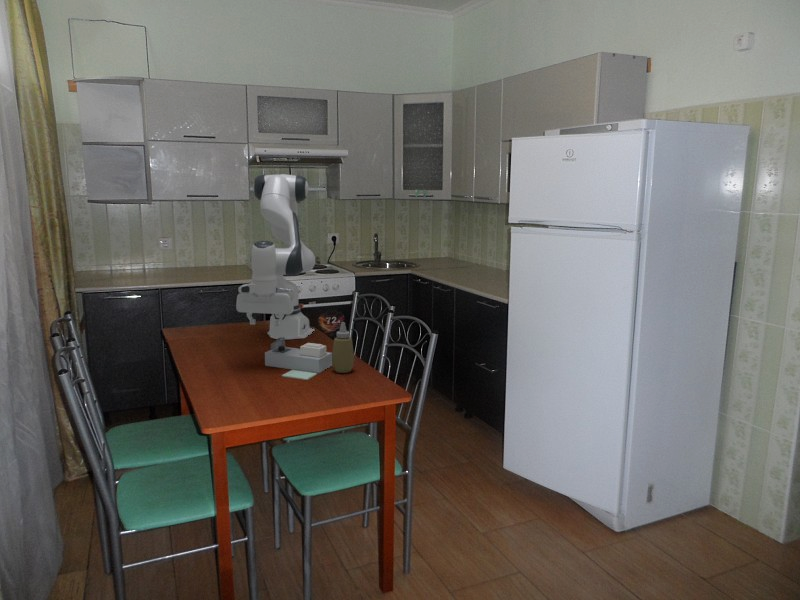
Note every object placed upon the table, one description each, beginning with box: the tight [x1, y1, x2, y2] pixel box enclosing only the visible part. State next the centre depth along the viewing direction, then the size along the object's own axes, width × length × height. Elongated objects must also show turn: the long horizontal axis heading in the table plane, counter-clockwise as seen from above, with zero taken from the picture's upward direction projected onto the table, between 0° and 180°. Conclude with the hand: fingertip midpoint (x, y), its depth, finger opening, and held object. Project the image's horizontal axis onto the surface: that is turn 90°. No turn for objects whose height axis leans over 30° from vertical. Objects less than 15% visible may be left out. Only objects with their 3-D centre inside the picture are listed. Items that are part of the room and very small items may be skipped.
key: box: [270, 337, 286, 350], centre depth 223 cm, size 2×10×4 cm, turn 170°
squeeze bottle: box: [332, 321, 355, 374], centre depth 218 cm, size 8×8×18 cm
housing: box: [264, 346, 333, 374], centre depth 225 cm, size 10×22×5 cm, turn 69°
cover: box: [299, 342, 327, 357], centre depth 222 cm, size 5×8×4 cm, turn 69°
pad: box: [281, 369, 318, 381], centre depth 214 cm, size 7×10×1 cm
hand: (265, 325), depth 219 cm, fingers open, 8 cm apart
